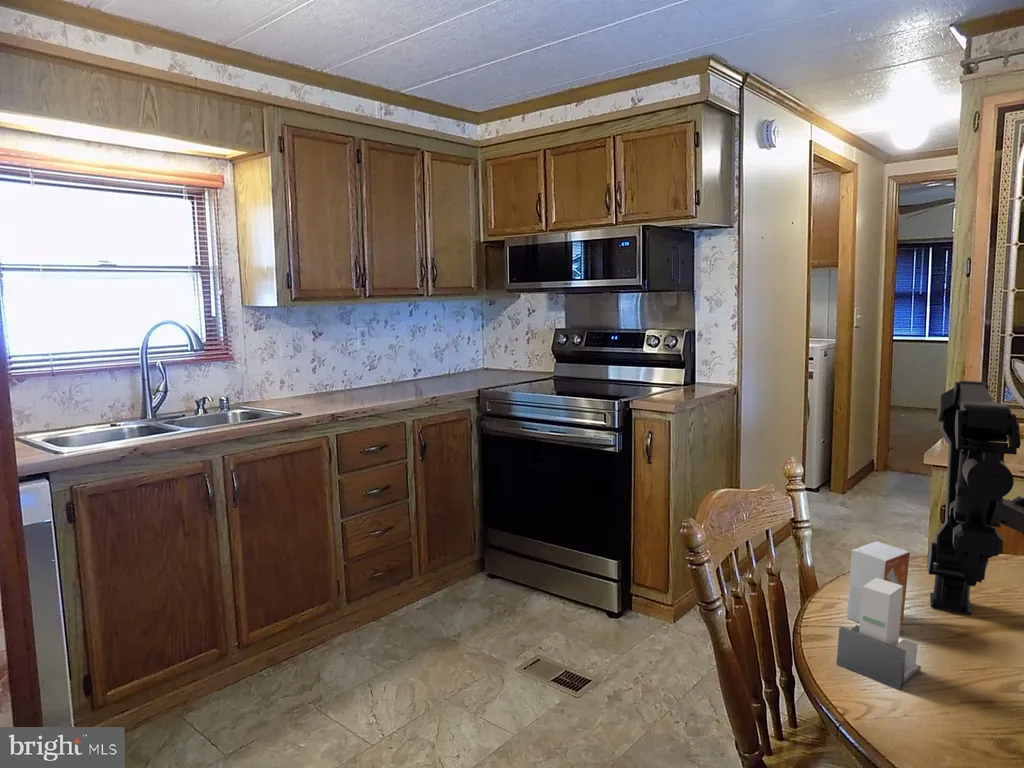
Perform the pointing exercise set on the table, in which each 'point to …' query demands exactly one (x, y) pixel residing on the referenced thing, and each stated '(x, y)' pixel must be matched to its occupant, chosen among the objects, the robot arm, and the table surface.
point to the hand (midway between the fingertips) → (969, 575)
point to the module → (881, 610)
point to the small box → (875, 572)
